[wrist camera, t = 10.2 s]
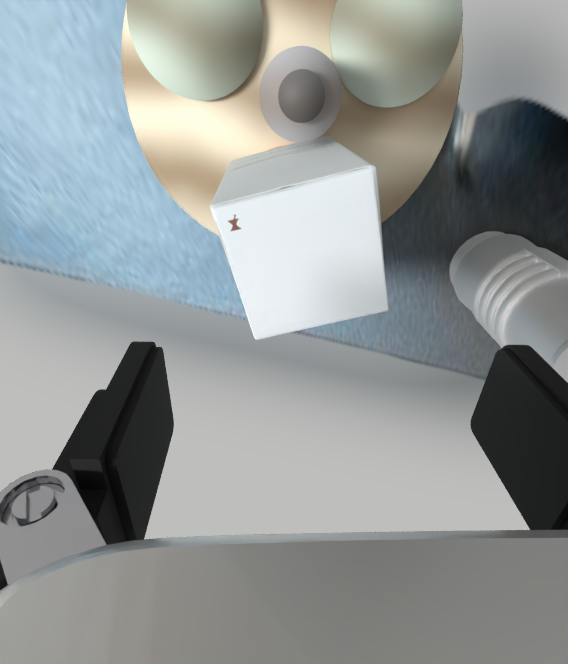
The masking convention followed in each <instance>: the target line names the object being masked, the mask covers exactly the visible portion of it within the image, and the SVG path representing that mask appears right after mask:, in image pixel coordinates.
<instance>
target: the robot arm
mask: <svg viewBox="0 0 568 664" xmlns="http://www.w3.org/2000/svg"><path fill="white" fill-rule="evenodd" d="M173 427H174V422H173V413H172V407H171V400H170V393H169V387H168V381H167V374H166V367H165V361H164V353H163V349H162V348H161V347H156V345H155V343H154V342H132V343H131V344H130V346H129V347H128V350H127V351H126V353H125V355H124V357H123V359H122V361H121V363H120V364H119V366H118V368H117V370H116V372H115V374H114V376H113V378H112V380H111V381H110V383H109V385H108V387H107V389H106V390H98V391H97V392H96V393H95V394H94V396H93V397H92V399H91V401H90V403H89V404H88V406H87V408H86V410H85V412H84V414H83V415H82V417H81V419H80V420H79V422H78V424H77V426H76V428H75V429H74V431H73V433H72V435H71V437H70V438H69V440H68V442H67V444H66V446H65V447H64V449H63V451H62V453H61V455H60V456H59V458H58V460H57V462H56V463H55V465H54V467H53V469H52V470H41V471H35V472H32V473H30V474H27V475H24V476H22V477H20V478H19V479H17V480H15V481H14V482H12V483H10V484H9V485H8V486H7V487H6V488H4V489H3V490H2V491H1V492H0V664H568V383H567V382H566V381H565V380H564V379H563V378H562V377H561V376H560V375H559V374H558V373H557V372H556V371H555V370H554V369H553V368H552V367H551V366H550V365H549V364H548V363H547V362H546V361H545V360H544V359H543V358H542V357H541V356H540V355H539V354H538V353H537V352H536V351H535V350H534V349H533V348H532V347H531V346H529V345H505V346H504V347H503V348H502V350H498V351H497V353H496V354H495V357H494V360H493V362H492V365H491V368H490V370H489V373H488V376H487V378H486V381H485V384H484V386H483V389H482V392H481V394H480V397H479V400H478V402H477V405H476V408H475V411H474V413H473V416H472V418H471V429H472V432H473V434H474V436H475V437H476V439H477V441H478V442H479V444H480V446H481V447H482V449H483V451H484V452H485V454H486V456H487V458H488V459H489V461H490V463H491V464H492V466H493V468H494V469H495V471H496V473H497V474H498V476H499V478H500V479H501V481H502V483H503V484H504V486H505V488H506V489H507V491H508V493H509V495H510V496H511V498H512V499H513V501H514V503H515V505H516V506H517V508H518V510H519V511H520V513H521V515H522V516H523V518H524V520H525V521H526V523H527V525H528V526H529V528H530V530H499V531H497V530H495V531H419V532H357V533H356V532H353V533H303V534H254V535H222V536H196V537H195V536H194V537H170V538H157V539H146V540H144V537H145V533H146V529H147V526H148V522H149V518H150V515H151V511H152V507H153V504H154V500H155V496H156V493H157V489H158V485H159V482H160V478H161V474H162V470H163V467H164V463H165V459H166V456H167V452H168V448H169V444H170V441H171V437H172V434H173Z"/></svg>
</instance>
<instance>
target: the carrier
mask: <svg viewBox="0 0 568 664" xmlns="http://www.w3.org/2000/svg"><path fill="white" fill-rule="evenodd" d="M462 16H463V13H462V0H127V4H126V10H125V17H124V25H123V32H122V73H123V83H124V91H125V96H126V101H127V106H128V111H129V115H130V118H131V121H132V124H133V127H134V131H135V134H136V137H137V139H138V142H139V144H140V146H141V148H142V150H143V153H144V155H145V157H146V159H147V161H148V163H149V164H150V166H151V168H152V170H153V171H154V173H155V175H156V176H157V178H158V180H159V181H160V182H161V184H162V185H163V186H164V188H165V189H166V190H167V192H168V193H169V194H170V196H171V197H172V198H173V199H174V200H175V201H176V202H177V203H178V204H179V205H180V206H181V207H182V208H183V209H184V210H185V212H187V213H188V214H189V215H190V216H191V217H193V218H194V219H195V220H196V221H197V222H199V223H200V224H201V225H203V226H204V227H206V228H207V229H209V230H210V231H212V232H213V233H215V234H216V235H218V236H219V233H218V230H217V227H216V224H215V221H214V218H213V215H212V212H211V209H210V205H211V203H212V201H213V199H214V197H215V194H216V192H217V190H218V188H219V185H220V183H221V181H222V179H223V176H224V174H225V172H226V170H227V168H228V165H229V163H230V161H231V160H234V159H238V158H241V157H245V156H249V155H252V154H256V153H260V152H264V151H267V150H271V149H275V148H279V147H282V146H286V145H290V144H294V143H298V142H306V141H310V140H313V139H316V138H318V137H323V136H328V135H329V136H330V137H332V138H333V139H335V140H336V141H338V142H339V143H341V144H343V145H344V146H346V147H347V148H349V149H350V150H352V151H353V152H355V153H356V154H358V155H359V156H361V157H362V158H364V159H365V160H367V161H368V162H370V163H371V164H373V165H375V166H376V168H377V178H378V191H379V203H380V216H381V223H383V222H384V221H385V220H387V219H388V218H389V217H390V216H392V215H393V214H394V213H395V212H396V211H397V210H398V209H399V208H400V207H401V206H402V205H403V204H404V203H405V202H406V201H407V200H408V199H409V197H410V196H411V195H412V194H413V193H414V191H415V190H416V189H417V188H418V187H419V185H420V184H421V182H422V181H423V179H424V178H425V176H426V175H427V173H428V172H429V170H430V169H431V167H432V165H433V163H434V162H435V160H436V158H437V156H438V154H439V152H440V150H441V148H442V146H443V143H444V141H445V138H446V136H447V133H448V131H449V128H450V126H451V122H452V119H453V115H454V112H455V108H456V104H457V100H458V94H459V88H460V82H461V76H462V75H461V74H462V59H463V39H462Z"/></svg>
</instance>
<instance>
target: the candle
mask: <svg viewBox="0 0 568 664" xmlns="http://www.w3.org/2000/svg"><path fill="white" fill-rule="evenodd" d="M449 275H450V281H451V283H452V284H453V286H454V288H455V293H456V295H457V297H458V299H459V300H460V301H461V302H462V303H463V304H464V305H465V306H466V307H467V308H468V309H470V310H471V311H472V312H473V314H474V316H475V318H476V320H477V321H478V322H479V323H480V324H481V325H482V326H483V328H484V329H485V330H486V331H487V332H488V333H489V334H490V335H491V337H492V338H493V339H494V340H495V341H496V342H497V343H498V344H499V345H500V347H501V348H503V347H504V346H505V345H529V346H531V347H532V348H533V349H534V350H535V351H536V352H537V353H538V354H539V355H540V356H541V357H542V358H543V359H544V360H545V361H546V362H547V363H548V364H549V365H550V366H551V367H552V368H553V369H554V370H555V371H556V372H557V373H558V374H559V375H560V376H561V377H562V378H563V379H564V380H565V381H566V382H567V383H568V261H567V260H565V259H564V258H562V257H560V256H558V255H557V254H555V253H553V252H551V251H549V250H548V249H546V248H540V247H537V246H535V245H534V244H533V243H531V242H530V241H529V240H527V239H525V238H523V237H522V236H519V235H513V234H505V233H503V232H497V231H490V232H484V233H481V234H478V235H475V236H474V237H472V238H470V239H469V240H467V241H466V242H465V243H464V244H463V245H462V246H460V247H459V249H458V250H457V252H456V253H455V254H454V256H453V258H452V261H451V263H450V269H449Z"/></svg>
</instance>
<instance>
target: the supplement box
mask: <svg viewBox="0 0 568 664" xmlns="http://www.w3.org/2000/svg"><path fill="white" fill-rule="evenodd" d="M210 209H211V212H212V215H213V218H214V221H215V224H216V227H217V230H218V233H219V236H220V238H221V241H222V244H223V247H224V250H225V253H226V256H227V259H228V262H229V264H230V267H231V270H232V273H233V276H234V279H235V282H236V285H237V288H238V290H239V293H240V296H241V299H242V302H243V305H244V308H245V311H246V314H247V317H248V320H249V324H250V326H251V330H252V332H253V335H254V338H255V339H256V340H257V339H263V338H267V337H271V336H276V335H280V334H285V333H289V332H294V331H298V330H303V329H307V328H312V327H316V326H321V325H325V324H330V323H334V322H339V321H343V320H348V319H352V318H357V317H362V316H366V315H371V314H375V313H380V312H385V311H388V310H389V308H388V300H387V291H386V280H385V268H384V255H383V242H382V229H381V216H380V203H379V191H378V178H377V168H376V166H375V165H373V164H371V163H370V162H368V161H367V160H365V159H364V158H362V157H361V156H359V155H358V154H356V153H355V152H353V151H352V150H350V149H349V148H347V147H346V146H344V145H343V144H341V143H339V142H338V141H336V140H335V139H333V138H332V137H330V136H329V135H328V136H323V137H318V138H316V139H313V140H310V141H306V142H298V143H294V144H290V145H286V146H282V147H279V148H275V149H271V150H267V151H264V152H260V153H256V154H252V155H249V156H245V157H241V158H238V159H234V160H231V161H230V163H229V165H228V168H227V170H226V172H225V174H224V176H223V179H222V181H221V183H220V185H219V188H218V190H217V192H216V194H215V197H214V199H213V201H212V203H211V205H210Z"/></svg>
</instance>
